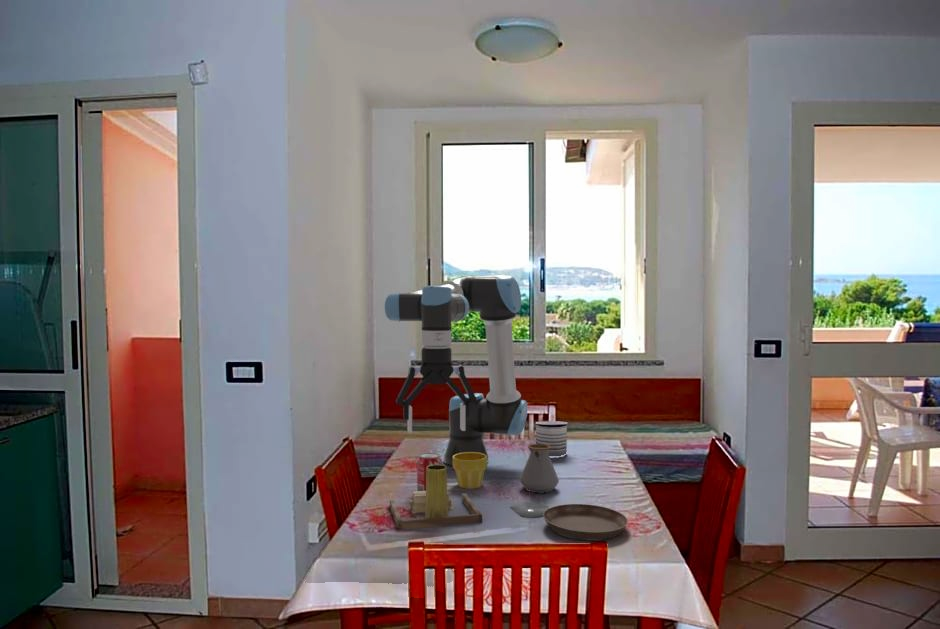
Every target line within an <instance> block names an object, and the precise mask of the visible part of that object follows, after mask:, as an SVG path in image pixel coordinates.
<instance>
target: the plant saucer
mask: <svg viewBox="0 0 940 629" xmlns="http://www.w3.org/2000/svg"><path fill="white" fill-rule="evenodd" d="M542 517H543V520H544V521H545V522H546V524H547V525H548V527H549V528H551V530H552V531H554V532H555V533H557V534H558V535H560V536H562V537H566V538H569V539H573V540H578V541H579V540H580V541H591V540H593V541H602V539H605V540H608V538H609V539H612V538H615V537H616V536H618V535H619V534H620V533H621V532H623V531H624V529H625V528H626V526H627V525H628V523H629V522H628V518H627V517H626V516H625V514H623V513H621V512H620V511H617V510H615V509H612V508H609V507H605V506H601V505H595V504H586V503H585V504H583V503H568V504H567V503H566V504H560V505H556V506H555V505H554V506H551V507H549V509H547V510H546V511H545V512H544V513H543V516H542Z"/></svg>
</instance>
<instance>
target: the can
mask: <svg viewBox="0 0 940 629" xmlns="http://www.w3.org/2000/svg"><path fill="white" fill-rule="evenodd" d="M567 427H568V422H566V421H558V420H557V421H554V420H553V421H552V420H551V421H550V420H544V421H537V422H535V444H545V445H549V446H550V449H549V451H548V455H549V456H561V455H564V454H566V452H567V446H568V445H567V441H568V440H567V438H568V437H567V436H568V434H567V433H568V432H567V430H568V428H567ZM566 455H567V454H566Z"/></svg>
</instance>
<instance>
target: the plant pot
mask: <svg viewBox="0 0 940 629" xmlns="http://www.w3.org/2000/svg"><path fill="white" fill-rule="evenodd" d="M452 463H453V466H452V468H453V470H454V471H455V476H456V480H457V485H458V487H460V488H463V489H477V488H481V487H482V485H483V481H484V474H485V469H487V467H488V463H487V456H486V455H485V454H482V453H477V452H464V453H458V454H455V455H453V457H452Z"/></svg>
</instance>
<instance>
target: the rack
mask: <svg viewBox="0 0 940 629" xmlns="http://www.w3.org/2000/svg"><path fill="white" fill-rule="evenodd" d="M461 499H462V500H461V501H462V503H463V504H464V506H466V508H467V510H469V513H471V514H459V515H448V516H444V517H432V518H425V517H422V518H410V519H402V517H401V514H400V512H399V509H398V507H397V504H396V502H395V499H394V498H389V508H390V511H391V513H392V517H393V520H394V522H395V526H396V527H397V530H408V529H409V530H411V529H419V528H421V529H423V528H434V527H446V526H455V525H456V526H457V525H458V526H459V525H469V524H483V514H482V513H481V511H480V510H479V509H478V507H477V506H476V505H475V503H474V502H473V501H472V499H471V498H470V497H469V495H468V494H467V493H462V494H461Z"/></svg>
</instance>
